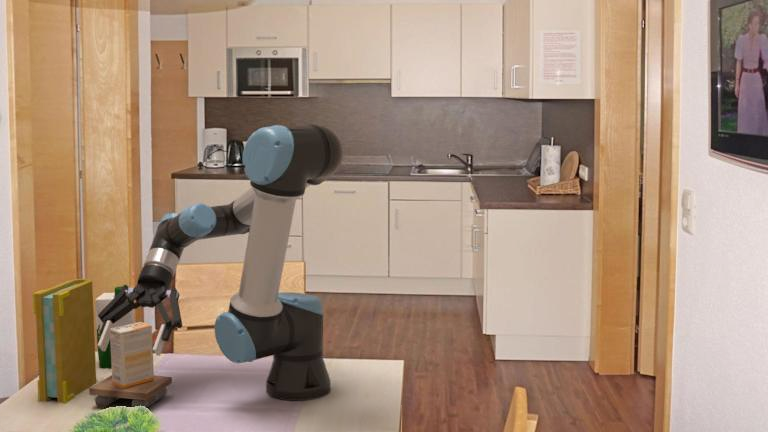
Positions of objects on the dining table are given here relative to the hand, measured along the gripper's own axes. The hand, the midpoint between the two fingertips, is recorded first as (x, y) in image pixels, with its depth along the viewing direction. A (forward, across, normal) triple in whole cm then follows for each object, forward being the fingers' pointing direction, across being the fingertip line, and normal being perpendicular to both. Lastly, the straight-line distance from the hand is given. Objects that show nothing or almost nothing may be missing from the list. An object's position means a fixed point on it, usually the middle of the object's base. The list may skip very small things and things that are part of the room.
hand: (128, 350), depth 208 cm
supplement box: (+5, 0, -6) cm, 8 cm away
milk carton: (-9, +18, -27) cm, 34 cm away
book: (+6, +18, -12) cm, 22 cm away
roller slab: (+8, 0, -9) cm, 12 cm away
